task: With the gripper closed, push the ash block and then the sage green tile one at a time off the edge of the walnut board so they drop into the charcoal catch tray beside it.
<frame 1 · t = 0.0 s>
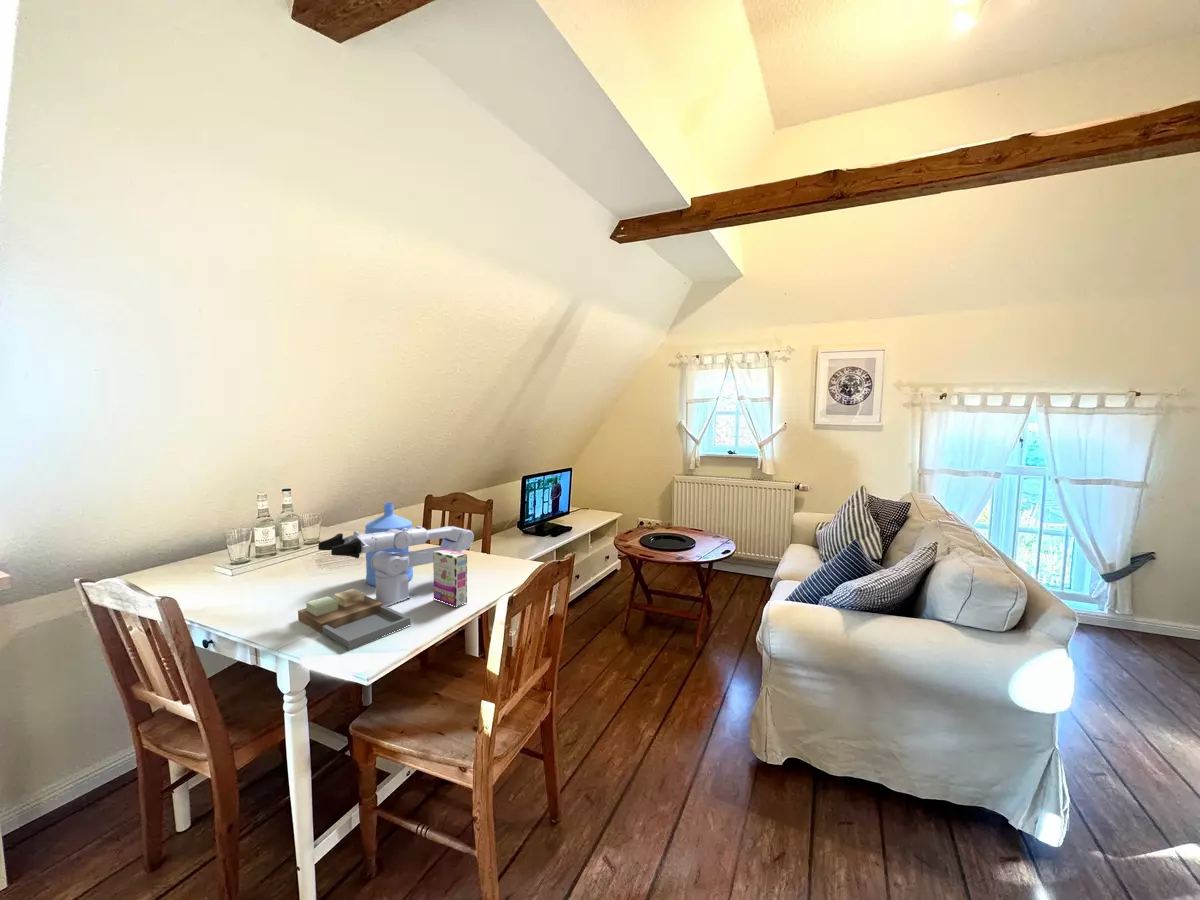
hand: (325, 548, 141), 22 cm above the table, tool horizontal, fingers open, 7 cm apart
sage tile: (322, 610, 144), point 3 cm above the table, touching walnut board
water jug: (390, 580, 178), on the table
candy bar box: (450, 602, 159), on the table
walnut board: (341, 616, 147), on the table
ash block: (349, 601, 150), point 3 cm above the table, touching walnut board
catch tray: (367, 630, 138), on the table
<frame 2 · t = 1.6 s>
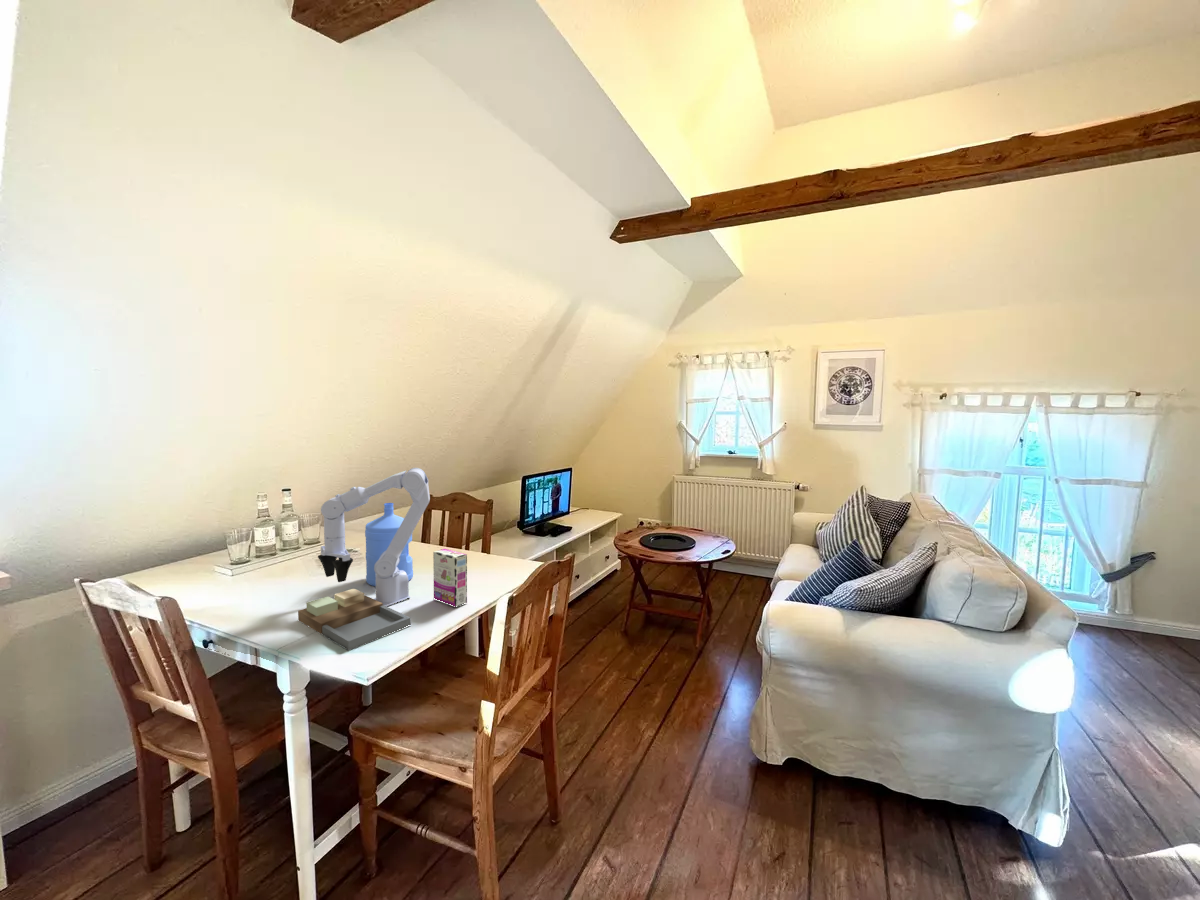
hand: (335, 578, 155), 8 cm above the table, tool pointing down, fingers open, 7 cm apart
nothing on the table moved.
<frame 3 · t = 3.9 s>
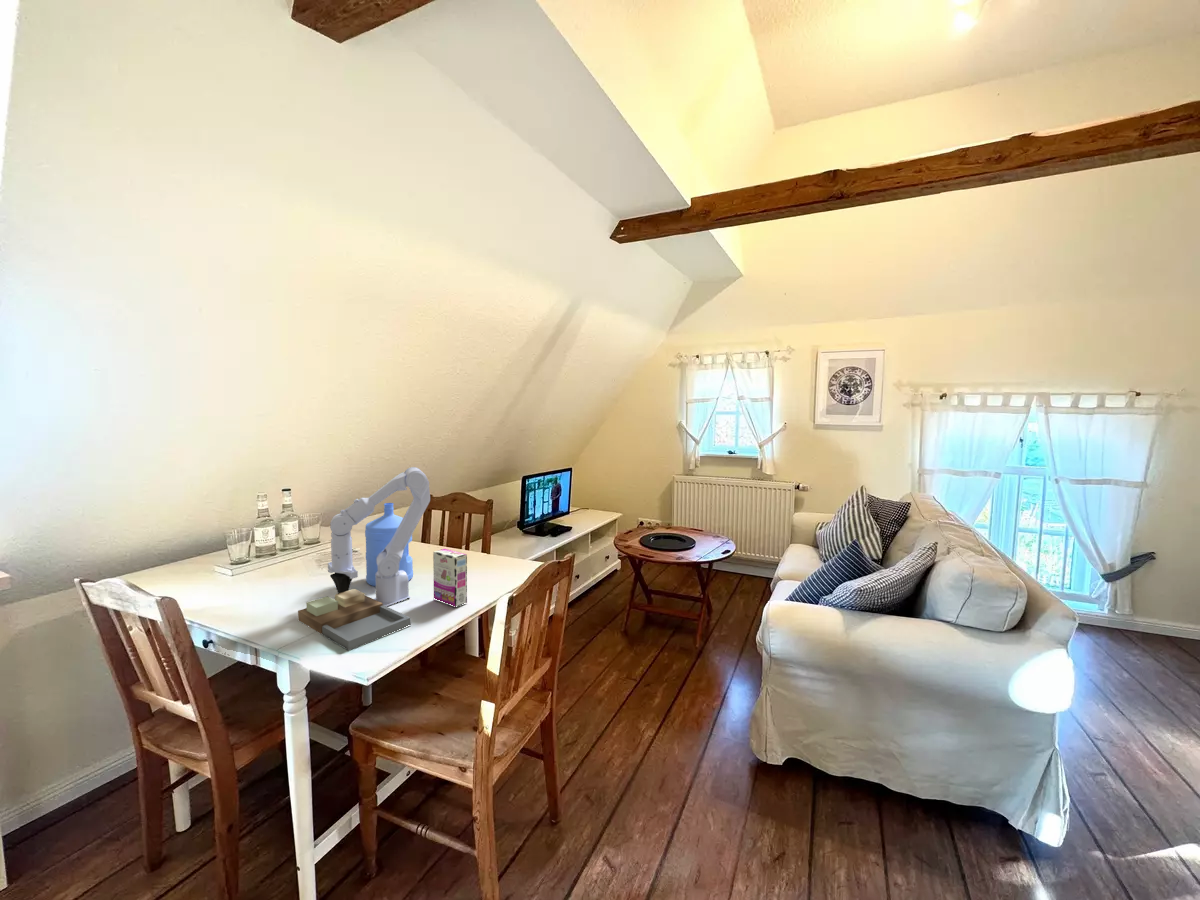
hand: (343, 595, 153), 4 cm above the table, tool pointing down, fingers closed
ash block: (349, 601, 150), point 3 cm above the table, touching gripper, walnut board
everything else where it was.
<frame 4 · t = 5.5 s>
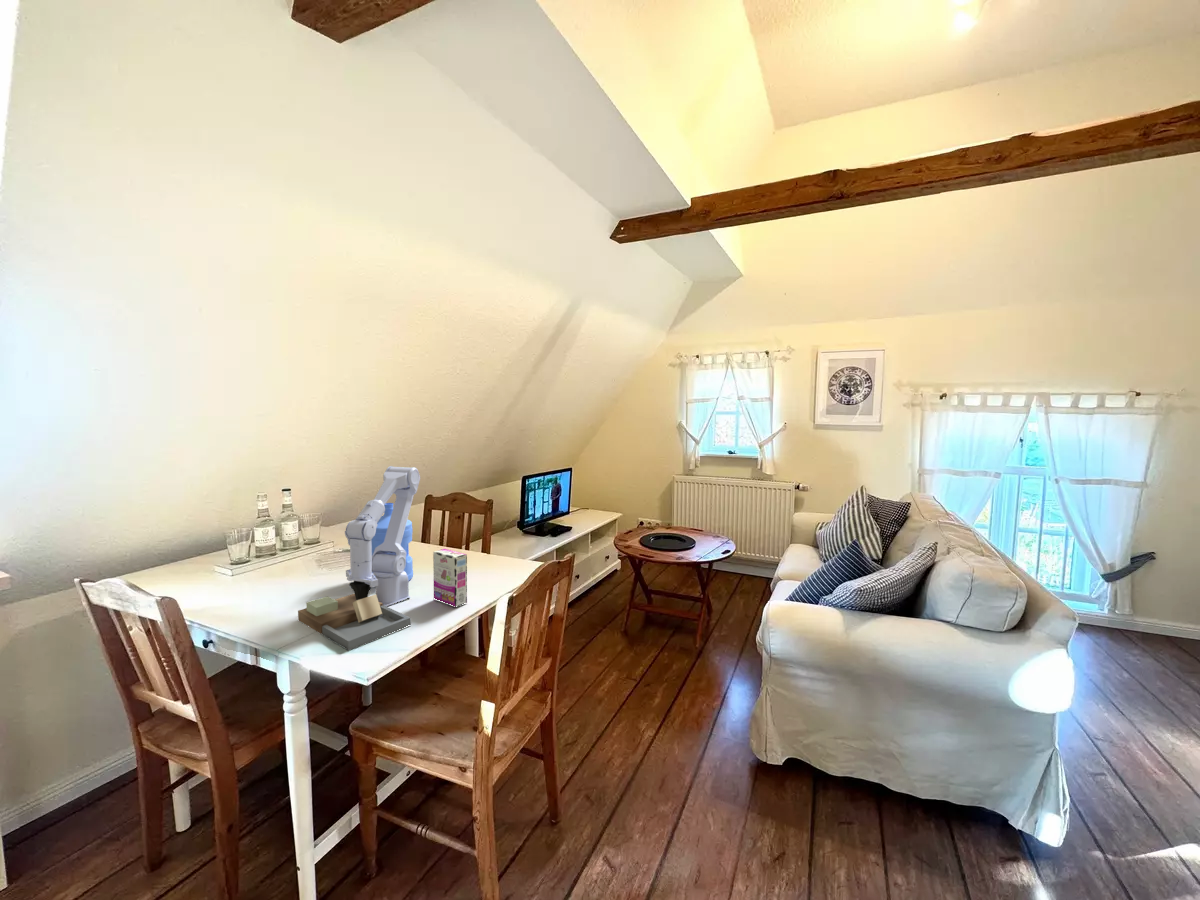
hand: (362, 604, 146), 4 cm above the table, tool pointing down, fingers closed
ash block: (365, 609, 145), point 3 cm above the table, tilted 59°, touching catch tray, gripper
everything else where it was.
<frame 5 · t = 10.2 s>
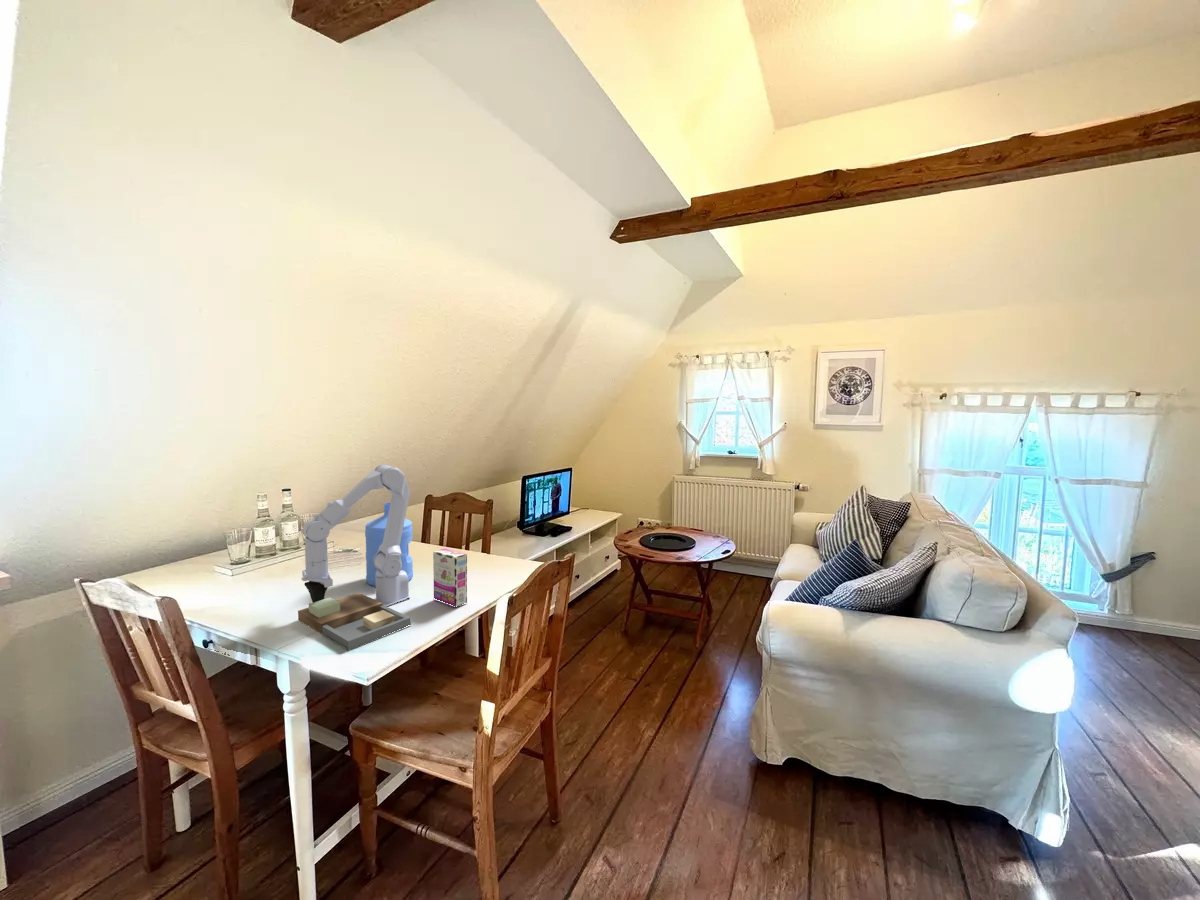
hand: (318, 604, 145), 4 cm above the table, tool pointing down, fingers closed
sage tile: (324, 611, 143), point 3 cm above the table, touching gripper
ash block: (378, 616, 141), point 3 cm above the table, tilted 180°, touching catch tray
everything else where it was.
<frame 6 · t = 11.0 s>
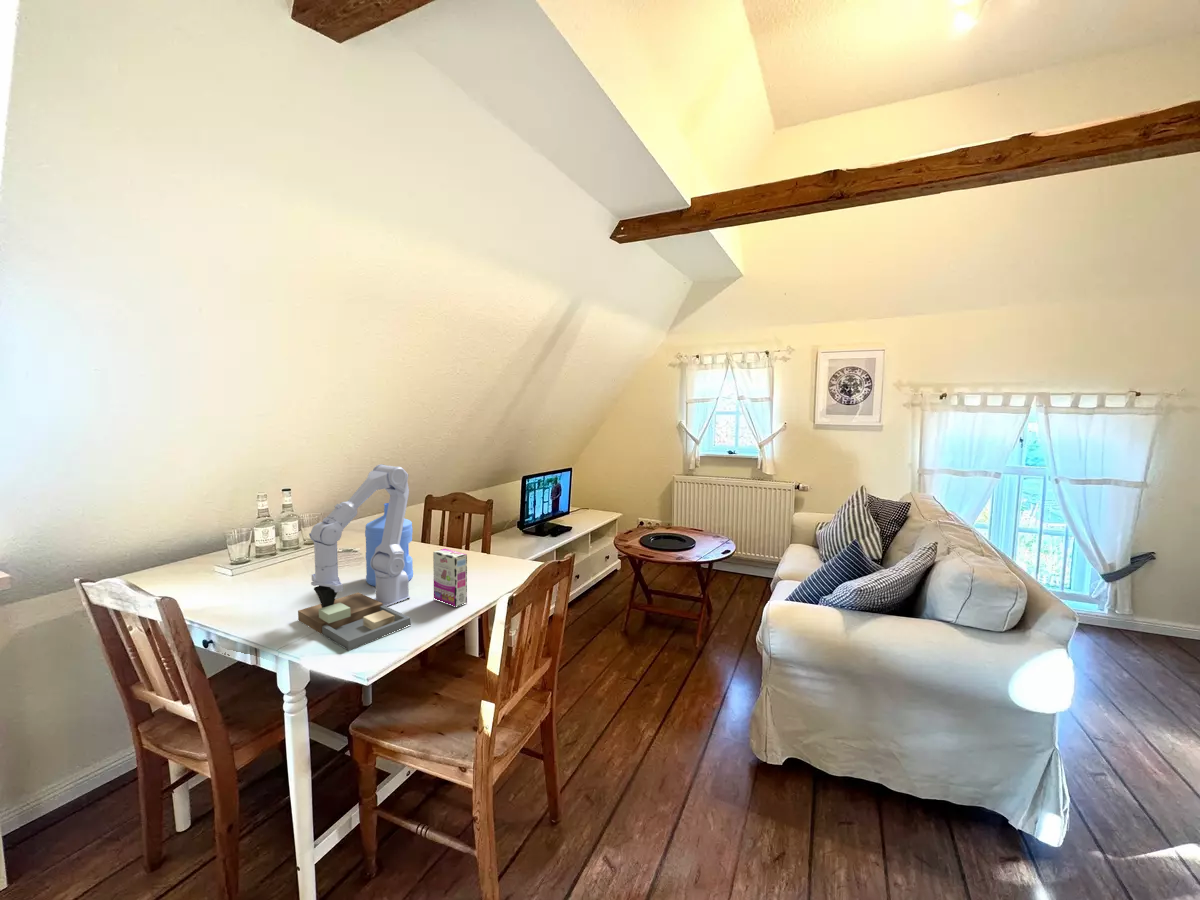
hand: (327, 610, 142), 4 cm above the table, tool pointing down, fingers closed
sage tile: (334, 616, 140), point 3 cm above the table, touching gripper
everything else where it was.
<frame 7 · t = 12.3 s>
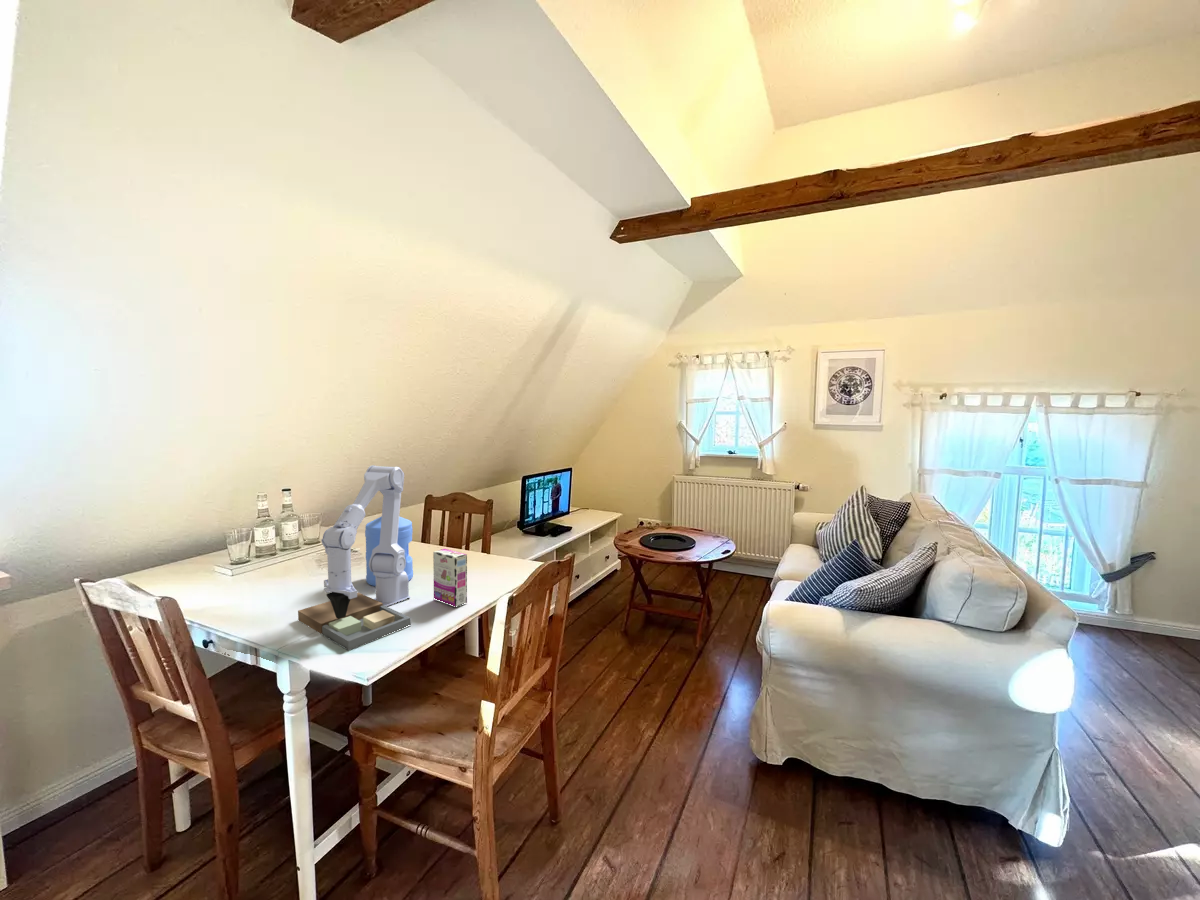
hand: (340, 616, 138), 4 cm above the table, tool pointing down, fingers closed
sage tile: (345, 630, 136), point 1 cm above the table, touching catch tray
everything else where it was.
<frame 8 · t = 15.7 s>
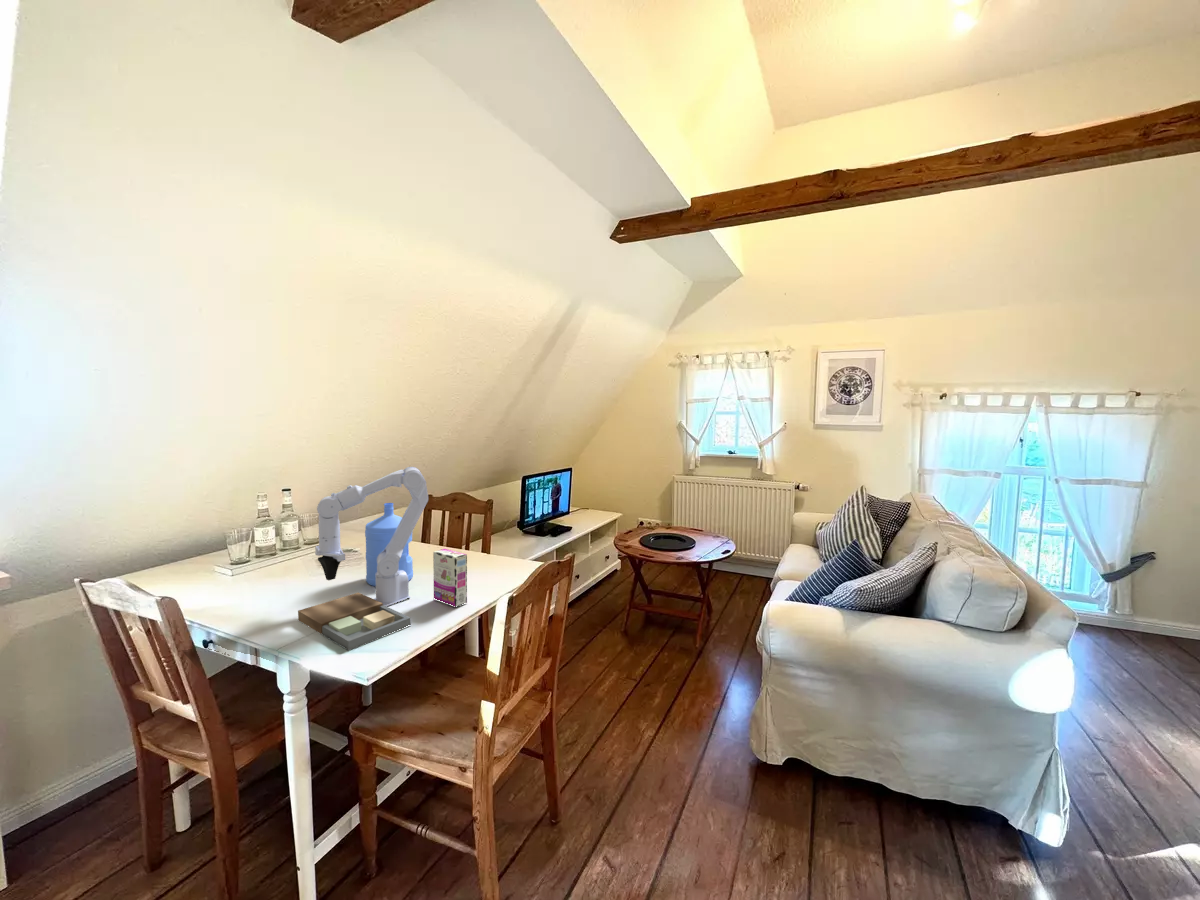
hand: (330, 579, 151), 9 cm above the table, tool pointing down, fingers closed
nothing on the table moved.
at the end: ash block inside the target area on the catch tray (3.2 cm from its centre), point 3.1 cm above the catch tray's base; sage tile inside the target area on the catch tray (5.6 cm from its centre), point 0.6 cm above the catch tray's base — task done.
